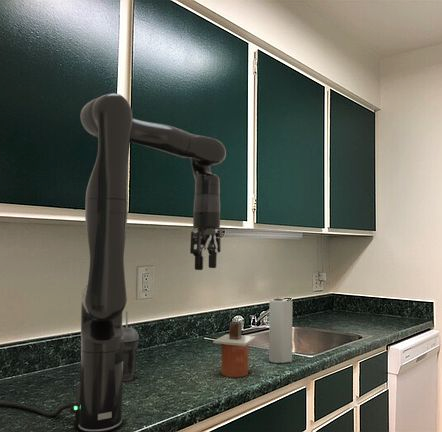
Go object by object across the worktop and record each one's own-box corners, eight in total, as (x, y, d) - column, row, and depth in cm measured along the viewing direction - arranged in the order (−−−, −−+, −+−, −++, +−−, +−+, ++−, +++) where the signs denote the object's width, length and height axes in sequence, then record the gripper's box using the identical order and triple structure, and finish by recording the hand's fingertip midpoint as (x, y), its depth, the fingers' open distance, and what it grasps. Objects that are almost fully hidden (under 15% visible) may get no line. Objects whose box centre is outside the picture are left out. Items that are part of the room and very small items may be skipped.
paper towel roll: (265, 360, 158) (266, 299, 159) (278, 357, 161) (278, 297, 162) (278, 365, 152) (279, 301, 153) (292, 362, 156) (292, 300, 157)
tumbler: (216, 375, 140) (217, 342, 141) (227, 367, 148) (228, 337, 149) (242, 378, 137) (242, 345, 138) (252, 370, 145) (252, 339, 146)
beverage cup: (115, 384, 131) (117, 314, 132) (111, 377, 137) (113, 310, 138) (140, 380, 134) (142, 312, 135) (135, 374, 140) (137, 309, 141)
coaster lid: (213, 343, 140) (213, 324, 140) (226, 336, 150) (227, 318, 150) (244, 346, 137) (245, 327, 137) (256, 339, 146) (256, 321, 147)
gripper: (206, 212, 135) (205, 267, 134) (182, 209, 121) (181, 270, 121) (229, 212, 132) (228, 267, 131) (207, 209, 119) (206, 271, 118)
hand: (205, 268), depth 126 cm, fingers open, 8 cm apart
